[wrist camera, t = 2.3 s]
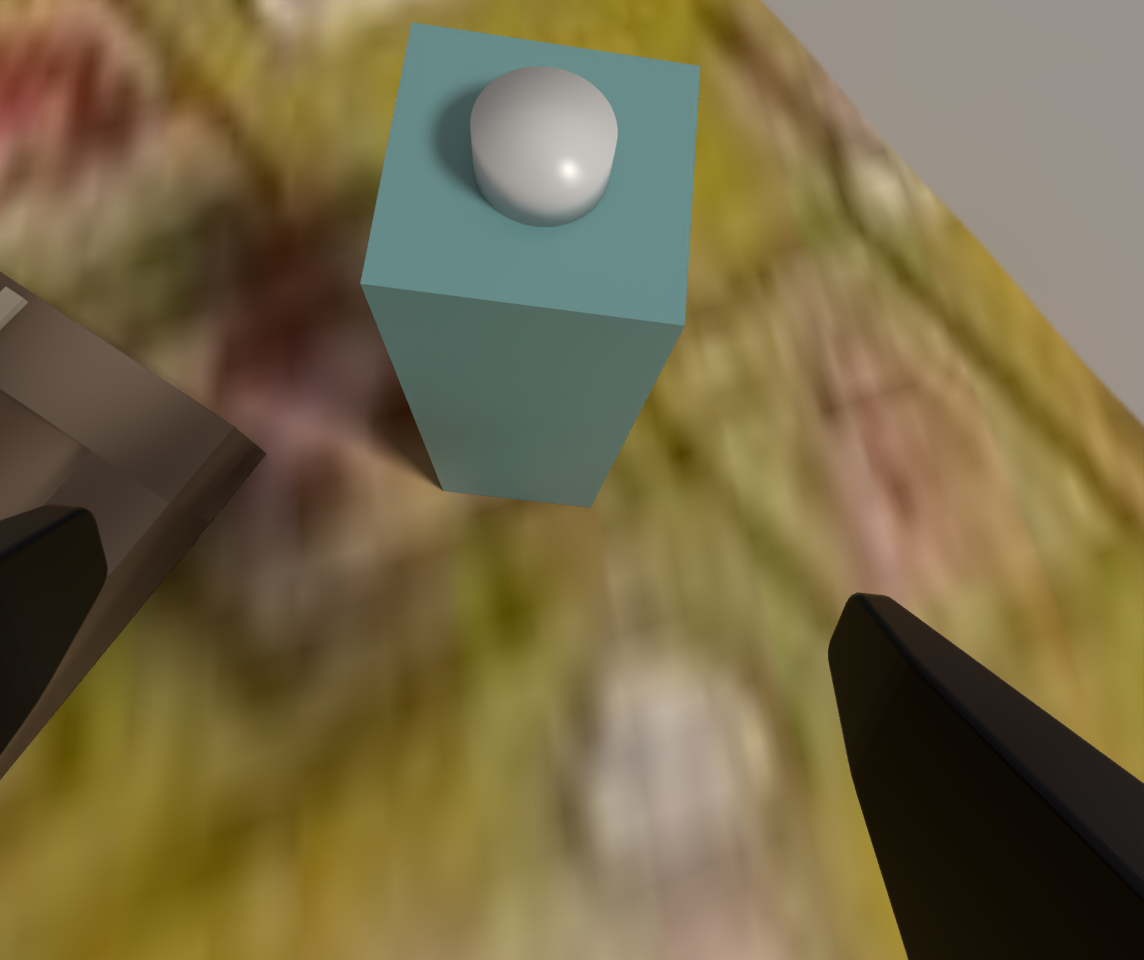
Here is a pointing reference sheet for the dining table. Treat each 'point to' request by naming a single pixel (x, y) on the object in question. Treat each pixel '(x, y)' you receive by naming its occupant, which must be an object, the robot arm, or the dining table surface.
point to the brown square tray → (105, 467)
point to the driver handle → (531, 253)
